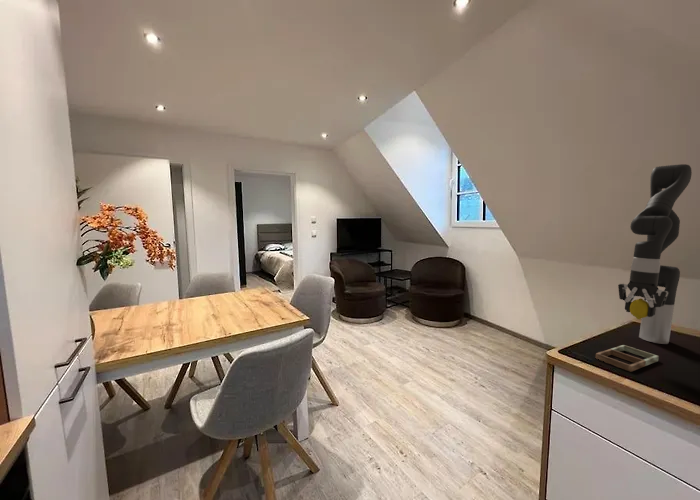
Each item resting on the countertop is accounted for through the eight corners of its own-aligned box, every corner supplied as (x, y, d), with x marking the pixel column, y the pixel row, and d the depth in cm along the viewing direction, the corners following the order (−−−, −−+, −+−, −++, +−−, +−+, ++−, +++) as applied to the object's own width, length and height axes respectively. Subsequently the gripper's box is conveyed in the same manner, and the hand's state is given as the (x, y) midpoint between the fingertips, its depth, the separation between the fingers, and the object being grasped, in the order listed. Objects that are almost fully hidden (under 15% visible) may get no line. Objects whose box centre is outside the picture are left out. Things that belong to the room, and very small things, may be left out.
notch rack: (622, 349, 121) (623, 344, 121) (658, 361, 112) (658, 355, 111) (595, 358, 112) (595, 353, 112) (630, 371, 103) (631, 366, 103)
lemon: (652, 322, 109) (655, 301, 108) (635, 321, 110) (637, 299, 110) (641, 317, 115) (644, 297, 114) (624, 316, 116) (627, 296, 115)
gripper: (676, 272, 106) (669, 319, 108) (625, 266, 119) (620, 307, 120) (667, 274, 102) (660, 321, 104) (615, 267, 115) (610, 309, 117)
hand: (638, 314), depth 112 cm, fingers closed on lemon, 5 cm apart
